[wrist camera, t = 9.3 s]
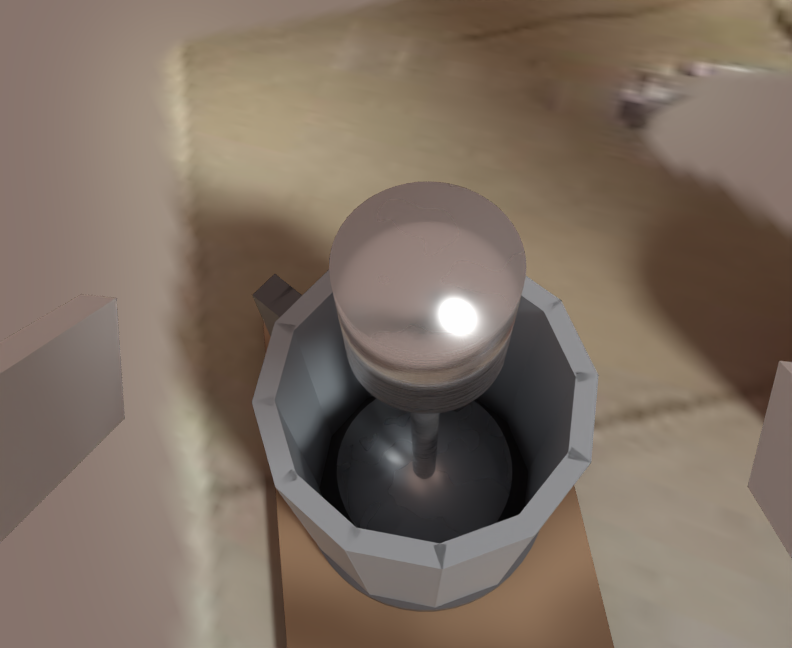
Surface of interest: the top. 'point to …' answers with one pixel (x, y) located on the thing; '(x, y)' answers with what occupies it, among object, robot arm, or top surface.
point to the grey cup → (346, 397)
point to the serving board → (459, 627)
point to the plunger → (426, 357)
